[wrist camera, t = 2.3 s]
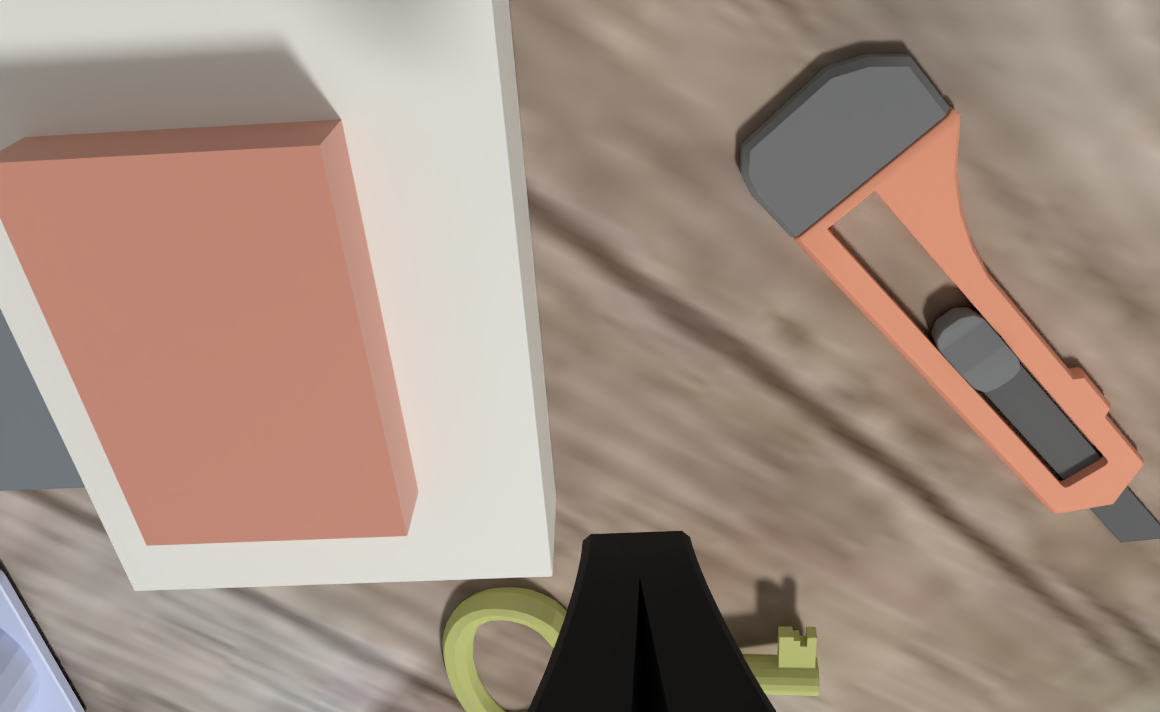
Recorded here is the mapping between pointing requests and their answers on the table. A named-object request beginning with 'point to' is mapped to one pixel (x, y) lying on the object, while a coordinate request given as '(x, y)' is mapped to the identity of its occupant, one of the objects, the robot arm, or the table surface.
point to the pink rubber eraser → (219, 326)
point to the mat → (28, 428)
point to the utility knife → (935, 217)
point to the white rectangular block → (394, 237)
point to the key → (543, 614)
